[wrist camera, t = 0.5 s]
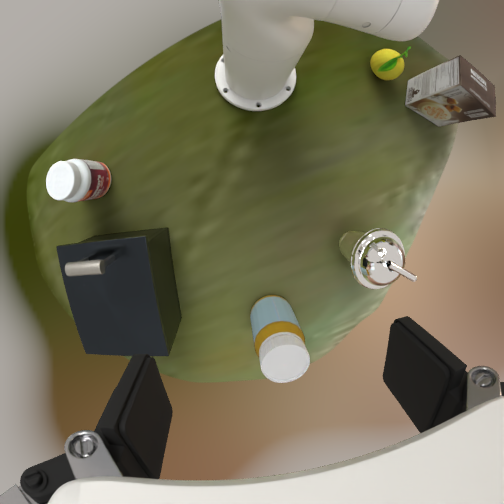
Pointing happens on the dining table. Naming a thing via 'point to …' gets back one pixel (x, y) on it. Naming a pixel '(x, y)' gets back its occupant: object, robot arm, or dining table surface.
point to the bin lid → (114, 296)
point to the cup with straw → (375, 257)
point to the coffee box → (451, 93)
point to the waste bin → (158, 276)
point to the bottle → (278, 340)
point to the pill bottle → (78, 180)
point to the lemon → (387, 63)
